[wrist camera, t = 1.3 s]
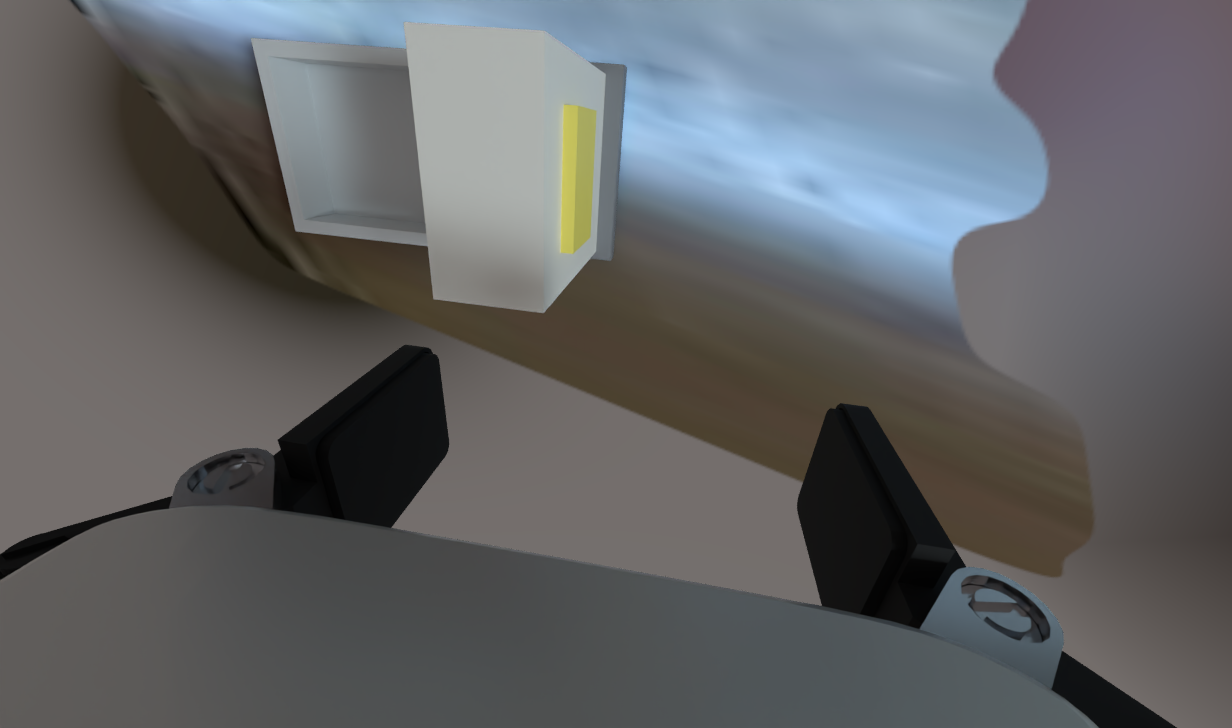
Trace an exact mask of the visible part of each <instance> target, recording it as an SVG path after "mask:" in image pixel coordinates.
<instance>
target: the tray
mask: <svg viewBox="0 0 1232 728" xmlns="http://www.w3.org/2000/svg"><path fill="white" fill-rule="evenodd" d="M251 41H252V45H253V50H254V54H255V58H256V62H257V67H258V71H259V75H260V80H261V84H262V88H263V93H264V97H265V101H266V106H267V110H268V114H269V118H270V123H271V127H272V131H273V136H274V140H275V144H276V149H277V153H278V157H279V162H280V166H281V170H282V174H283V179H284V183H285V187H286V192H287V196H288V200H289V205H290V209H291V213H292V218H293V222H294V226H295V230H296V231H298V232H307V233H315V234H324V235H333V236H342V237H351V238H359V239H368V240H377V241H386V242H395V243H403V244H412V245H421V246H428V243H427V234H426V224H425V215H424V206H423V197H422V187H421V178H420V169H419V160H418V150H417V141H416V132H415V122H414V113H413V104H412V95H411V85H410V76H409V67H408V58H407V49H403V48H388V47H373V46H359V45H344V44H330V43H315V42H300V41H286V40H271V39H257V38H251Z"/></svg>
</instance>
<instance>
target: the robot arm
mask: <svg viewBox="0 0 1232 728" xmlns="http://www.w3.org/2000/svg"><path fill="white" fill-rule="evenodd" d="M278 442H279V445H280V448H281V450H280V451H279V452H278V453H276V454H275V455H274V456H273V455H272V454H271V453H269V452H268V451H267V450H262V449H258V448H243V449H237V450H230V451H227V452H223V453H220V454H217V455H214V456H212V457H210V458H207V459H205V460H203V461H201V462H199V463H198V464H196V465H194V466H193V467H191V468H190V469H188V470H187V471H186V472H185V473H184V474H183V475H182V476H181V477H180V478H179V480H178V482H177V484H176V486H175V489H174V493H173V496H171V497H167V498H164V499H161V500H157V501H154V502H150V503H147V504H143V505H140V506H137V507H133V508H129V509H126V510H123V511H119V512H115V513H112V514H109V515H105V516H102V517H98V518H95V519H91V520H88V521H84V522H81V523H78V524H74V525H70V526H67V527H63V528H60V529H57V530H53V531H50V532H47V533H43V534H39V535H35V536H32V537H29V538H27V539H25V540H23V541H20V542H18V543H17V544H15V545H13V546H11V547H10V548H8V549H7V550H6V551H5V552H3V553H2V554H0V728H1177V727H1175V726H1173V725H1172V724H1170V723H1169V722H1168V721H1166V720H1165V719H1163V718H1162V717H1160V716H1159V715H1157V714H1156V713H1154V712H1153V711H1151V710H1149V709H1148V708H1147V707H1145V706H1144V705H1142V704H1141V703H1139V702H1138V701H1136V700H1135V699H1133V698H1131V697H1130V696H1129V695H1127V694H1126V693H1124V692H1123V691H1121V690H1120V689H1118V688H1117V687H1115V686H1114V685H1112V684H1111V683H1109V682H1108V681H1106V680H1105V679H1103V678H1102V677H1100V676H1099V675H1097V674H1096V673H1095V672H1093V671H1092V670H1090V669H1089V668H1087V667H1086V666H1084V665H1083V664H1081V663H1079V662H1078V661H1076V660H1075V659H1074V658H1072V657H1071V656H1069V655H1068V654H1066V653H1065V652H1063V651H1062V648H1063V645H1064V637H1063V630H1062V628H1061V626H1060V624H1059V622H1058V620H1057V618H1056V617H1055V616H1054V615H1053V613H1052V612H1051V611H1050V610H1049V608H1048V607H1047V606H1046V605H1045V604H1044V603H1043V602H1042V601H1040V600H1039V599H1038V598H1037V597H1036V596H1035V595H1034V594H1033V593H1032V592H1030V591H1028V590H1027V589H1026V588H1024V587H1023V586H1021V585H1019V584H1018V583H1017V582H1015V581H1013V580H1011V579H1009V578H1007V577H1005V576H1003V575H1001V574H999V573H996V572H992V571H990V570H986V569H983V568H975V567H966V566H965V564H964V563H963V561H962V559H961V558H960V556H959V554H958V553H957V551H956V549H955V548H954V546H953V544H952V543H951V541H950V540H949V538H948V536H947V535H946V533H945V531H944V530H943V528H942V526H941V525H940V523H939V521H938V520H937V518H936V517H935V515H934V513H933V512H932V510H931V508H930V507H929V505H928V503H927V502H926V500H925V499H924V497H923V495H922V494H921V492H920V490H919V489H918V487H917V485H916V484H915V482H914V481H913V479H912V477H911V476H910V474H909V473H908V471H907V469H906V468H905V466H904V464H903V463H902V461H901V459H900V458H899V456H898V455H897V453H896V451H895V450H894V448H893V446H892V445H891V443H890V441H889V440H888V438H887V437H886V435H885V433H884V432H883V430H882V428H881V427H880V425H879V423H878V422H877V420H876V419H875V417H874V415H873V414H872V412H871V410H870V409H869V408H868V407H864V406H857V405H849V404H842V403H841V404H839V405H838V406H837V407H836V409H832V408H830V409H829V410H828V411H827V413H826V416H825V419H824V422H823V425H822V428H821V431H820V434H819V437H818V440H817V443H816V446H815V449H814V452H813V455H812V458H811V461H810V464H809V467H808V470H807V473H806V476H805V479H804V482H803V485H802V488H801V491H800V494H799V497H798V502H797V511H798V515H799V519H800V523H801V527H802V531H803V535H804V539H805V542H806V546H807V550H808V554H809V558H810V561H811V565H812V569H813V573H814V577H815V580H816V584H817V588H818V592H819V595H820V599H821V604H822V606H819V605H814V604H808V603H802V602H797V601H791V600H787V599H782V598H777V597H771V596H766V595H761V594H756V593H750V592H745V591H739V590H734V589H729V588H723V587H718V586H712V585H707V584H702V583H696V582H690V581H685V580H680V579H674V578H669V577H664V576H658V575H653V574H648V573H642V572H636V571H631V570H626V569H620V568H615V567H609V566H603V565H598V564H593V563H587V562H581V561H576V560H570V559H565V558H559V557H553V556H547V555H542V554H536V553H531V552H525V551H520V550H514V549H509V548H503V547H498V546H492V545H486V544H481V543H475V542H469V541H463V540H458V539H452V538H446V537H440V536H434V535H429V534H423V533H417V532H411V531H405V530H400V529H394V528H391V527H392V526H393V525H394V523H395V522H396V521H397V519H398V518H399V517H400V515H401V514H402V513H403V511H404V510H405V509H406V508H407V506H408V505H409V504H410V502H411V501H412V500H413V498H414V497H415V496H416V494H417V493H418V492H419V490H420V489H421V488H422V486H423V485H424V484H425V483H426V481H427V480H428V479H429V477H430V476H431V475H432V473H433V471H435V469H436V468H437V467H438V465H439V464H440V463H441V461H442V460H443V459H444V458H445V456H446V454H447V452H448V448H449V437H448V429H447V422H446V414H445V405H444V397H443V389H442V382H441V374H440V365H439V359H438V357H437V355H435V354H433V353H432V351H431V349H429V348H426V347H419V346H412V345H404V346H402V347H401V348H399V349H398V350H397V351H395V352H394V353H393V354H392V355H390V356H389V357H387V358H386V359H385V360H383V361H382V362H381V363H379V364H378V365H377V366H375V367H374V368H373V369H371V370H370V371H369V372H367V373H366V374H365V375H363V376H362V377H361V378H359V379H358V380H357V381H356V382H354V383H353V384H352V385H350V386H349V387H347V388H346V389H345V390H343V391H342V392H341V393H339V394H338V395H337V396H335V397H334V398H333V399H331V400H330V401H329V402H328V403H326V404H325V405H323V406H322V407H321V408H320V409H318V410H317V411H316V412H314V413H313V414H311V415H310V416H309V417H308V418H306V419H305V420H303V421H302V422H301V423H300V424H298V425H297V426H295V427H294V428H293V429H292V430H290V431H289V432H288V433H286V434H285V435H283V436H282V437H281V438H280V439H278Z"/></svg>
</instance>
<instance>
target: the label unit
mask: <svg viewBox="0 0 1232 728" xmlns="http://www.w3.org/2000/svg"><path fill="white" fill-rule="evenodd" d="M404 30H405V39H406V48H407V58H408V67H409V76H410V85H411V95H412V104H413V113H414V122H415V132H416V141H417V150H418V160H419V169H420V178H421V187H422V197H423V206H424V215H425V224H426V234H427V243H428V252H429V262H430V271H431V280H432V289H433V299H436V300H444V301H452V302H460V303H468V304H476V305H484V306H492V307H500V308H508V309H516V310H524V311H532V312H540V313H544V312H545V311H546V310H547V308H548V307H549V306H550V305H551V304H552V302H553V301H554V300H555V299H556V298H557V297H558V295H559V294H560V293H561V292H562V291H563V290H564V288H565V287H566V286H567V285H568V284H569V283H570V281H571V280H572V279H573V278H574V277H575V276H576V274H577V273H578V272H579V271H580V270H581V269H582V267H583V266H584V265H585V264H586V263H587V262H588V260H589V259H599V260H608V261H611V259H612V258H613V253H614V239H615V225H616V211H617V197H618V183H619V169H620V155H621V141H622V128H623V114H624V100H625V86H626V72H627V67H626V66H625V65H620V64H605V63H591V62H588V61H587V60H585V59H584V58H582V57H581V56H580V55H578V54H577V53H575V52H574V51H572V50H571V49H570V48H568V47H567V46H565V45H564V44H563V43H561V42H560V41H558V40H557V39H556V38H554V37H553V36H551V35H550V34H548V33H547V32H546V31H539V30H523V29H507V28H491V27H475V26H459V25H443V24H427V23H411V22H404Z"/></svg>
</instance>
